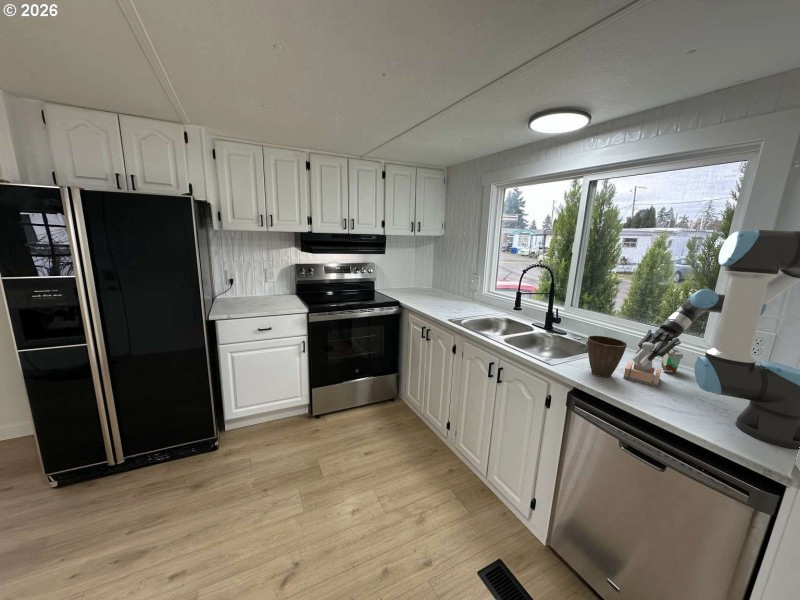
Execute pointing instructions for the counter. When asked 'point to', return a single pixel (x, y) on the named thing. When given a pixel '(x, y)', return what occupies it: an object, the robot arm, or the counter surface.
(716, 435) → the counter surface
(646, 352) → the salt shaker
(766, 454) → the counter surface
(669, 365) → the food container
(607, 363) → the plant pot
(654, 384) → the socket board
